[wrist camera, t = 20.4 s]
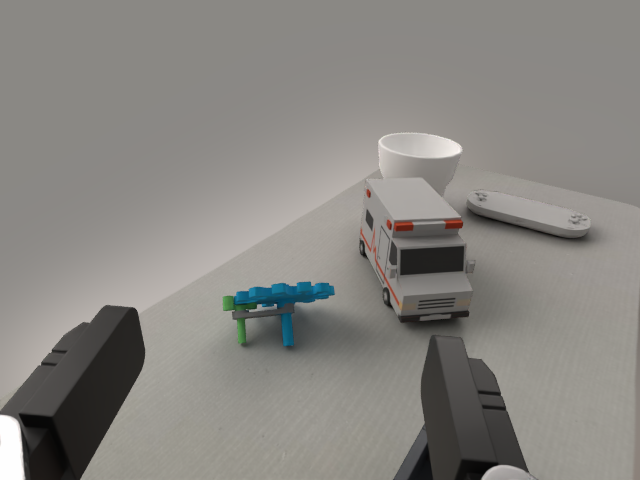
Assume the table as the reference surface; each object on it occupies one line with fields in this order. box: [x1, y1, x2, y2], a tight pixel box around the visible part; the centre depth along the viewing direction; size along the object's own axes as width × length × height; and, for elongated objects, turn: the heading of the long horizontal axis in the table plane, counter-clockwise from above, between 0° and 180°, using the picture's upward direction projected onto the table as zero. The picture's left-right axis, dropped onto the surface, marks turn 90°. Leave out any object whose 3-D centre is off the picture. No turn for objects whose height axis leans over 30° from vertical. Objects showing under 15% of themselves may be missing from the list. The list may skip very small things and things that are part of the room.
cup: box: [378, 133, 463, 197], centre depth 69 cm, size 12×12×11 cm
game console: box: [466, 190, 591, 238], centre depth 70 cm, size 18×2×8 cm
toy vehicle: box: [359, 178, 475, 322], centre depth 52 cm, size 10×17×10 cm, turn 10°
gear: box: [223, 282, 335, 346], centre depth 44 cm, size 11×6×10 cm
